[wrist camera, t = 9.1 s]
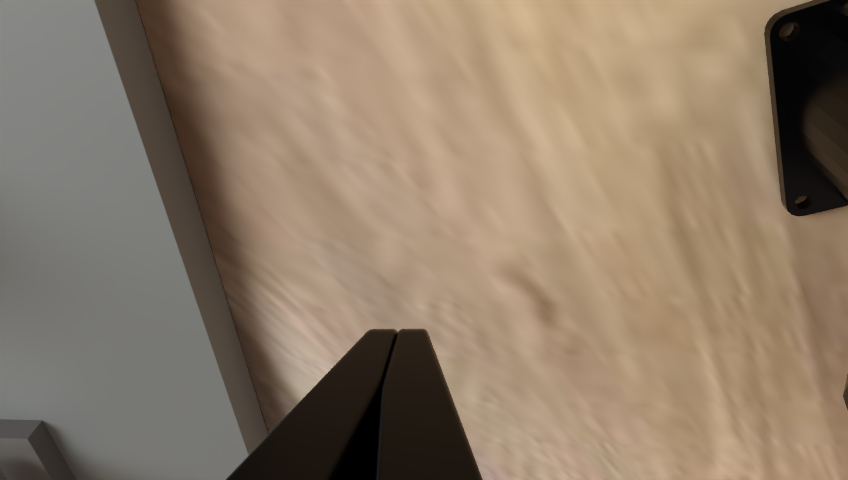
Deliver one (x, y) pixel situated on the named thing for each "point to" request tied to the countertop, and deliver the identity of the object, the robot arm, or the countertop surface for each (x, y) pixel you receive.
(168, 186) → the switch panel
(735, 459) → the countertop surface
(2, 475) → the cream lever
